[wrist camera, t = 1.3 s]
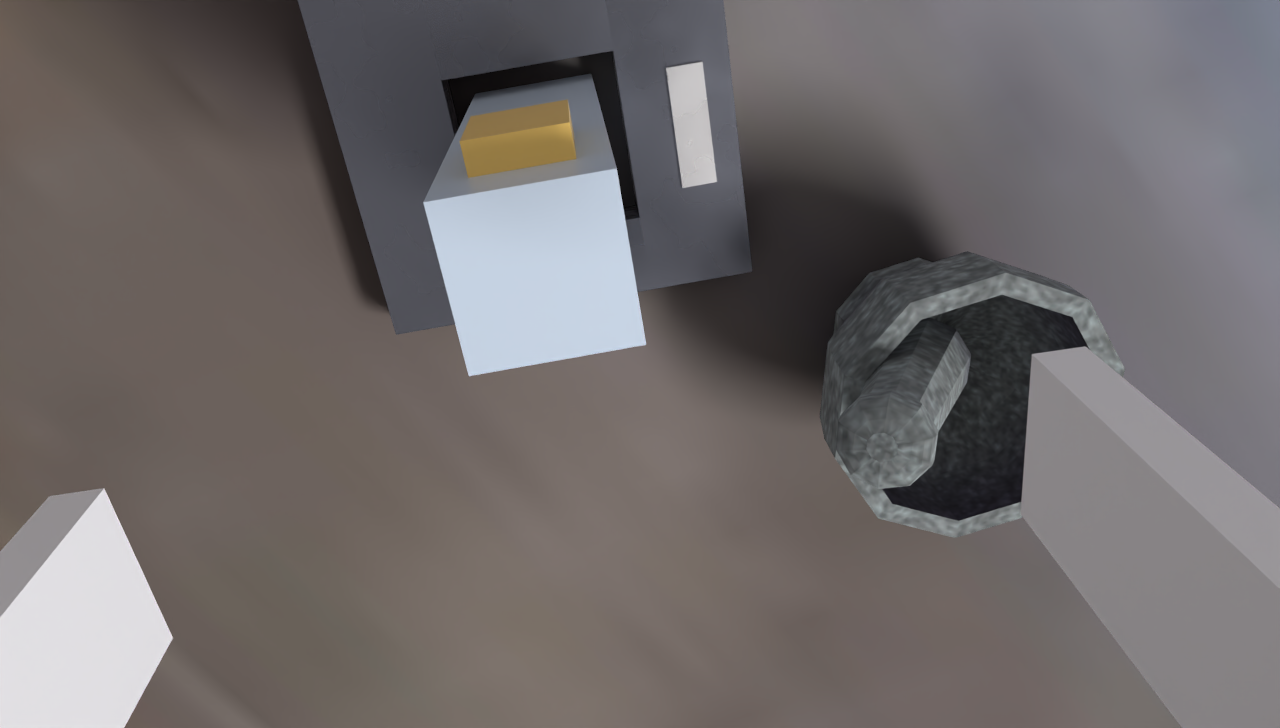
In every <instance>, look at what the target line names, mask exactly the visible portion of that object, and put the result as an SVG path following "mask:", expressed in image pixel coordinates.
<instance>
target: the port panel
mask: <svg viewBox="0 0 1280 728" xmlns="http://www.w3.org/2000/svg"><path fill="white" fill-rule="evenodd" d="M298 3H299V7H300V10H301V14H302V17H303V20H304V24H305V27H306V31H307V34H308V37H309V41H310V44H311V48H312V51H313V54H314V58H315V61H316V65H317V68H318V71H319V75H320V78H321V81H322V85H323V88H324V92H325V95H326V98H327V102H328V105H329V109H330V112H331V115H332V119H333V122H334V126H335V129H336V132H337V136H338V139H339V143H340V146H341V149H342V153H343V156H344V160H345V163H346V166H347V170H348V173H349V176H350V180H351V183H352V187H353V190H354V193H355V197H356V200H357V204H358V207H359V210H360V214H361V217H362V221H363V224H364V227H365V231H366V234H367V238H368V241H369V244H370V248H371V251H372V255H373V258H374V261H375V265H376V268H377V271H378V275H379V278H380V282H381V285H382V288H383V292H384V295H385V299H386V302H387V305H388V309H389V312H390V316H391V319H392V322H393V326H394V329H395V333H396V334H402V333H408V332H413V331H419V330H425V329H430V328H436V327H442V326H447V325H453V324H455V321H454V317H453V314H452V310H451V306H450V302H449V298H448V295H447V291H446V287H445V283H444V279H443V276H442V272H441V268H440V264H439V260H438V257H437V253H436V249H435V245H434V241H433V238H432V234H431V230H430V226H429V222H428V218H427V215H426V211H425V207H424V203H423V202H424V200H425V198H426V196H427V193H428V191H429V189H430V187H431V185H432V183H433V181H434V179H435V177H436V175H437V173H438V170H439V168H440V166H441V164H442V162H443V160H444V158H445V156H446V154H447V152H448V150H449V148H450V145H451V143H452V141H453V139H454V137H455V135H456V133H457V131H458V129H459V125H458V121H457V117H456V112H455V108H454V104H453V100H452V95H451V91H450V87H449V83H448V79H453V78H458V77H464V76H470V75H476V74H482V73H487V72H493V71H499V70H505V69H510V68H516V67H522V66H528V65H533V64H539V63H545V62H551V61H556V60H562V59H568V58H574V57H580V56H585V55H591V54H597V53H603V52H608V51H611V52H612V58H613V64H614V71H615V77H616V83H617V89H618V95H619V102H620V108H621V114H622V120H623V127H624V133H625V139H626V145H627V152H628V158H629V164H630V170H631V176H632V183H633V189H634V195H635V201H636V205H635V206H630V207H624V208H623V209H624V215H625V221H626V227H627V232H628V238H629V244H630V250H631V256H632V262H633V268H634V274H635V280H636V286H637V292H640V291H646V290H652V289H657V288H663V287H669V286H674V285H680V284H686V283H691V282H697V281H703V280H708V279H714V278H720V277H725V276H731V275H737V274H742V273H748V272H752V263H751V253H750V244H749V235H748V226H747V216H746V207H745V198H744V189H743V179H742V170H741V161H740V151H739V142H738V133H737V124H736V114H735V105H734V96H733V86H732V77H731V68H730V59H729V49H728V40H727V31H726V22H725V12H724V3H723V0H298Z"/></svg>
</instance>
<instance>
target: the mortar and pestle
mask: <svg viewBox="0 0 1280 728" xmlns="http://www.w3.org/2000/svg"><path fill="white" fill-rule="evenodd" d="M1084 346H1086V347H1087V348H1088V349H1089V350H1090V351H1092V352H1093V353H1094V354H1095V355H1096V356H1098V357H1099V358H1100V359H1101V360H1102V361H1104V362H1105V363H1106V364H1107V365H1108V366H1110V367H1111V368H1112V369H1113V370H1114V371H1116V372H1117V373H1118V374H1119V375H1120V376H1122V377H1123V375H1124V371H1125V368H1124V367H1123V365H1122V363H1121V361H1120V359H1119V357H1118V355H1117V353H1116V351H1115V349H1114V347H1113V345H1112V343H1111V341H1110V339H1109V337H1108V335H1107V333H1106V331H1105V329H1104V327H1103V326H1102V324H1101V322H1100V320H1099V318H1098V316H1097V314H1096V312H1095V310H1094V308H1093V306H1092V304H1091V302H1090V300H1089V299H1087V298H1086V297H1084V296H1083V295H1082V294H1080V293H1079V292H1077V291H1076V290H1074V289H1073V288H1071V287H1070V286H1068V285H1066V284H1063V283H1060V282H1057V281H1055V280H1052V279H1049V278H1046V277H1043V276H1041V275H1038V274H1035V273H1032V272H1029V271H1025V270H1022V269H1019V268H1016V267H1013V266H1010V265H1007V264H1004V263H1001V262H998V261H995V260H992V259H989V258H986V257H983V256H980V255H977V254H974V253H971V252H968V251H967V252H964V253H961V254H958V255H955V256H951V257H948V258H945V259H942V260H939V261H936V262H930V261H927V260H924V259H921V258H915V259H912V260H909V261H906V262H902V263H899V264H896V265H893V266H890V267H887V268H884V269H880V270H877V271H874V272H871V273H869V274H868V275H867V276H866V277H865V279H864V280H863V281H862V282H861V283H860V284H859V285H858V287H857V288H856V289H855V290H854V291H853V292H852V294H851V295H850V296H849V297H848V298H847V299H846V301H845V302H844V303H843V304H842V305H841V306H840V307H839V309H838V310H837V311H836V316H835V325H834V334H833V336H832V337H831V339H830V340H829V341H828V346H827V355H826V364H825V373H824V382H823V391H822V400H821V409H820V419H821V424H822V429H823V434H824V439H825V441H826V442H827V444H828V446H829V448H830V450H831V452H832V454H833V455H834V457H835V459H836V460H837V462H838V463H839V465H840V466H841V467H842V469H843V470H844V471H845V473H846V474H847V476H848V477H849V478H850V480H851V481H852V483H853V484H854V485H855V487H856V488H857V490H858V491H859V492H860V494H861V495H862V496H863V498H864V499H865V501H866V502H867V503H868V505H869V506H870V508H871V509H872V510H873V512H874V513H875V515H876V516H877V517H878V518H879V519H883V520H887V521H890V522H894V523H898V524H902V525H906V526H910V527H914V528H918V529H922V530H926V531H930V532H934V533H938V534H942V535H946V536H950V537H954V538H956V537H959V536H963V535H966V534H969V533H973V532H976V531H979V530H983V529H986V528H989V527H993V526H996V525H999V524H1003V523H1006V522H1009V521H1013V520H1016V519H1019V518H1023V517H1022V515H1021V500H1022V486H1023V472H1024V457H1025V443H1026V429H1027V415H1028V401H1029V387H1030V373H1031V359H1032V354H1036V353H1043V352H1050V351H1057V350H1064V349H1071V348H1078V347H1084Z"/></svg>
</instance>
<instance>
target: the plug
mask: <svg viewBox="0 0 1280 728" xmlns="http://www.w3.org/2000/svg"><path fill="white" fill-rule="evenodd" d="M423 203H424V207H425V211H426V215H427V218H428V222H429V226H430V230H431V234H432V238H433V241H434V245H435V249H436V253H437V257H438V260H439V264H440V268H441V272H442V276H443V279H444V283H445V287H446V291H447V295H448V298H449V302H450V306H451V310H452V314H453V317H454V321H455V325H456V329H457V333H458V336H459V340H460V344H461V348H462V352H463V355H464V359H465V363H466V367H467V371H468V374H469V376H472V375H478V374H483V373H489V372H495V371H500V370H506V369H512V368H517V367H523V366H529V365H534V364H540V363H546V362H551V361H557V360H563V359H568V358H574V357H580V356H585V355H591V354H596V353H602V352H608V351H613V350H619V349H625V348H630V347H636V346H642V345H646V340H645V334H644V328H643V322H642V316H641V310H640V304H639V298H638V292H637V286H636V280H635V274H634V268H633V262H632V256H631V250H630V244H629V238H628V232H627V227H626V221H625V215H624V209H623V203H622V197H621V191H620V185H619V179H618V173H617V167H616V164H615V160H614V156H613V152H612V149H611V145H610V141H609V138H608V134H607V130H606V127H605V123H604V119H603V115H602V112H601V108H600V104H599V101H598V97H597V93H596V90H595V86H594V82H593V78H592V75H591V74H585V75H580V76H574V77H568V78H562V79H556V80H551V81H545V82H539V83H533V84H528V85H522V86H516V87H510V88H505V89H499V90H493V91H487V92H482V93H476V94H475V95H474V97H473V99H472V102H471V104H470V106H469V108H468V110H467V112H466V114H465V116H464V118H463V120H462V122H461V125H460V127H459V129H458V131H457V133H456V135H455V137H454V139H453V141H452V143H451V145H450V148H449V150H448V152H447V154H446V156H445V158H444V160H443V162H442V164H441V166H440V168H439V170H438V173H437V175H436V177H435V179H434V181H433V183H432V185H431V187H430V189H429V191H428V193H427V196H426V198H425V200H424V202H423Z"/></svg>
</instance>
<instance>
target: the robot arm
mask: <svg viewBox="0 0 1280 728" xmlns="http://www.w3.org/2000/svg"><path fill="white" fill-rule="evenodd" d="M1021 515H1022V517H1023V518H1024V519H1025V521H1026V522H1027V523H1028V525H1029V526H1030V527H1031V529H1032V530H1033V531H1034V533H1035V534H1036V535H1037V537H1038V538H1039V539H1040V541H1041V542H1042V543H1043V544H1044V546H1045V547H1046V548H1047V550H1048V551H1049V552H1050V554H1051V555H1052V556H1053V558H1054V559H1055V560H1056V562H1057V563H1058V564H1059V566H1060V567H1061V568H1062V570H1063V571H1064V572H1065V574H1066V575H1067V576H1068V578H1069V579H1070V580H1071V582H1072V583H1073V584H1074V586H1075V587H1076V588H1077V589H1078V591H1079V592H1080V593H1081V595H1082V596H1083V597H1084V599H1085V600H1086V601H1087V603H1088V604H1089V605H1090V607H1091V608H1092V609H1093V611H1094V612H1095V613H1096V615H1097V616H1098V617H1099V619H1100V620H1101V621H1102V623H1103V624H1104V625H1105V627H1106V628H1107V629H1108V631H1109V632H1110V633H1111V634H1112V636H1113V637H1114V638H1115V640H1116V641H1117V642H1118V644H1119V645H1120V646H1121V648H1122V649H1123V650H1124V652H1125V653H1126V654H1127V656H1128V657H1129V658H1130V660H1131V661H1132V662H1133V664H1134V665H1135V666H1136V668H1137V669H1138V670H1139V672H1140V673H1141V674H1142V676H1143V677H1144V678H1145V680H1146V681H1147V682H1148V683H1149V685H1150V686H1151V687H1152V689H1153V690H1154V691H1155V693H1156V694H1157V695H1158V697H1159V698H1160V699H1161V701H1162V702H1163V703H1164V705H1165V706H1166V707H1167V709H1168V710H1169V711H1170V713H1171V714H1172V715H1173V717H1174V718H1175V719H1176V721H1177V722H1178V723H1179V725H1180V726H1181V727H1182V728H1280V508H1279V507H1277V506H1276V505H1275V504H1274V503H1273V502H1271V501H1270V500H1269V499H1268V498H1267V497H1265V496H1264V495H1263V494H1262V493H1261V492H1259V491H1258V490H1257V489H1256V488H1255V487H1253V486H1252V485H1251V484H1250V483H1249V482H1247V481H1246V480H1245V479H1244V478H1243V477H1241V476H1240V475H1239V474H1238V473H1237V472H1235V471H1234V470H1233V469H1232V468H1231V467H1229V466H1228V465H1227V464H1226V463H1225V462H1223V461H1222V460H1221V459H1220V458H1219V457H1217V456H1216V455H1215V454H1214V453H1213V452H1211V451H1210V450H1209V449H1208V448H1207V447H1205V446H1204V445H1203V444H1202V443H1201V442H1199V441H1198V440H1197V439H1196V438H1195V437H1193V436H1192V435H1191V434H1190V433H1189V432H1187V431H1186V430H1185V429H1184V428H1183V427H1181V426H1180V425H1179V424H1178V423H1177V422H1175V421H1174V420H1173V419H1172V418H1171V417H1169V416H1168V415H1167V414H1166V413H1165V412H1164V411H1162V410H1161V409H1160V408H1159V407H1158V406H1156V405H1155V404H1154V403H1153V402H1152V401H1150V400H1149V399H1148V398H1147V397H1146V396H1144V395H1143V394H1142V393H1141V392H1140V391H1138V390H1137V389H1136V388H1135V387H1134V386H1132V385H1131V384H1130V383H1129V382H1128V381H1126V380H1125V379H1124V378H1123V377H1122V376H1120V375H1119V374H1118V373H1117V372H1116V371H1114V370H1113V369H1112V368H1111V367H1110V366H1108V365H1107V364H1106V363H1105V362H1104V361H1102V360H1101V359H1100V358H1099V357H1098V356H1096V355H1095V354H1094V353H1093V352H1092V351H1090V350H1089V349H1088V348H1087V347H1086V346H1084V347H1078V348H1071V349H1064V350H1057V351H1050V352H1043V353H1036V354H1032V359H1031V373H1030V387H1029V401H1028V415H1027V429H1026V443H1025V457H1024V472H1023V486H1022V500H1021ZM172 639H173V637H172V635H171V633H170V631H169V629H168V626H167V624H166V622H165V620H164V618H163V615H162V613H161V611H160V609H159V607H158V605H157V602H156V600H155V598H154V596H153V594H152V592H151V589H150V587H149V585H148V583H147V581H146V578H145V576H144V574H143V572H142V570H141V568H140V565H139V563H138V561H137V559H136V557H135V555H134V552H133V550H132V548H131V546H130V544H129V541H128V539H127V537H126V535H125V533H124V531H123V528H122V526H121V524H120V522H119V520H118V518H117V515H116V513H115V511H114V509H113V507H112V504H111V502H110V500H109V498H108V496H107V494H106V491H105V489H104V488H103V489H96V490H89V491H82V492H76V493H69V494H62V495H55V496H49V497H48V498H47V500H46V501H45V502H44V503H43V504H42V505H41V506H40V507H39V509H38V510H37V511H36V512H35V513H34V514H33V515H32V517H31V518H30V519H29V520H28V521H27V522H26V523H25V524H24V526H23V527H22V528H21V529H20V530H19V531H18V532H17V533H16V535H15V536H14V537H13V538H12V539H11V540H10V541H9V542H8V544H7V545H6V546H5V547H4V548H3V549H2V550H1V551H0V728H124V727H125V725H126V723H127V721H128V720H129V718H130V716H131V714H132V712H133V710H134V708H135V707H136V705H137V703H138V701H139V699H140V697H141V696H142V694H143V692H144V690H145V688H146V686H147V685H148V683H149V681H150V679H151V677H152V675H153V674H154V672H155V670H156V668H157V666H158V664H159V663H160V661H161V659H162V657H163V655H164V653H165V651H166V650H167V648H168V646H169V644H170V642H171V640H172Z"/></svg>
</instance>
